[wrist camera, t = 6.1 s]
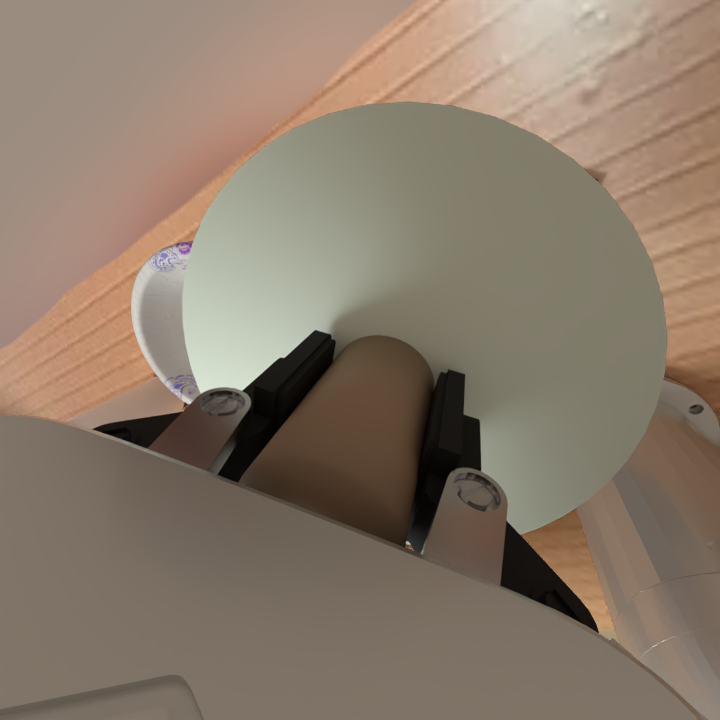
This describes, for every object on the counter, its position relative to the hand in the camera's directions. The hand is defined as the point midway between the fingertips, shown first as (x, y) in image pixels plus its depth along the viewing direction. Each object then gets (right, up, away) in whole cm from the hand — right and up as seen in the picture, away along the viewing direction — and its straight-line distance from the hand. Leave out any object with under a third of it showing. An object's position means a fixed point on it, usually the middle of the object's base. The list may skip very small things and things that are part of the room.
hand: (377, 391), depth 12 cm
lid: (0, +1, +1) cm, 2 cm away
